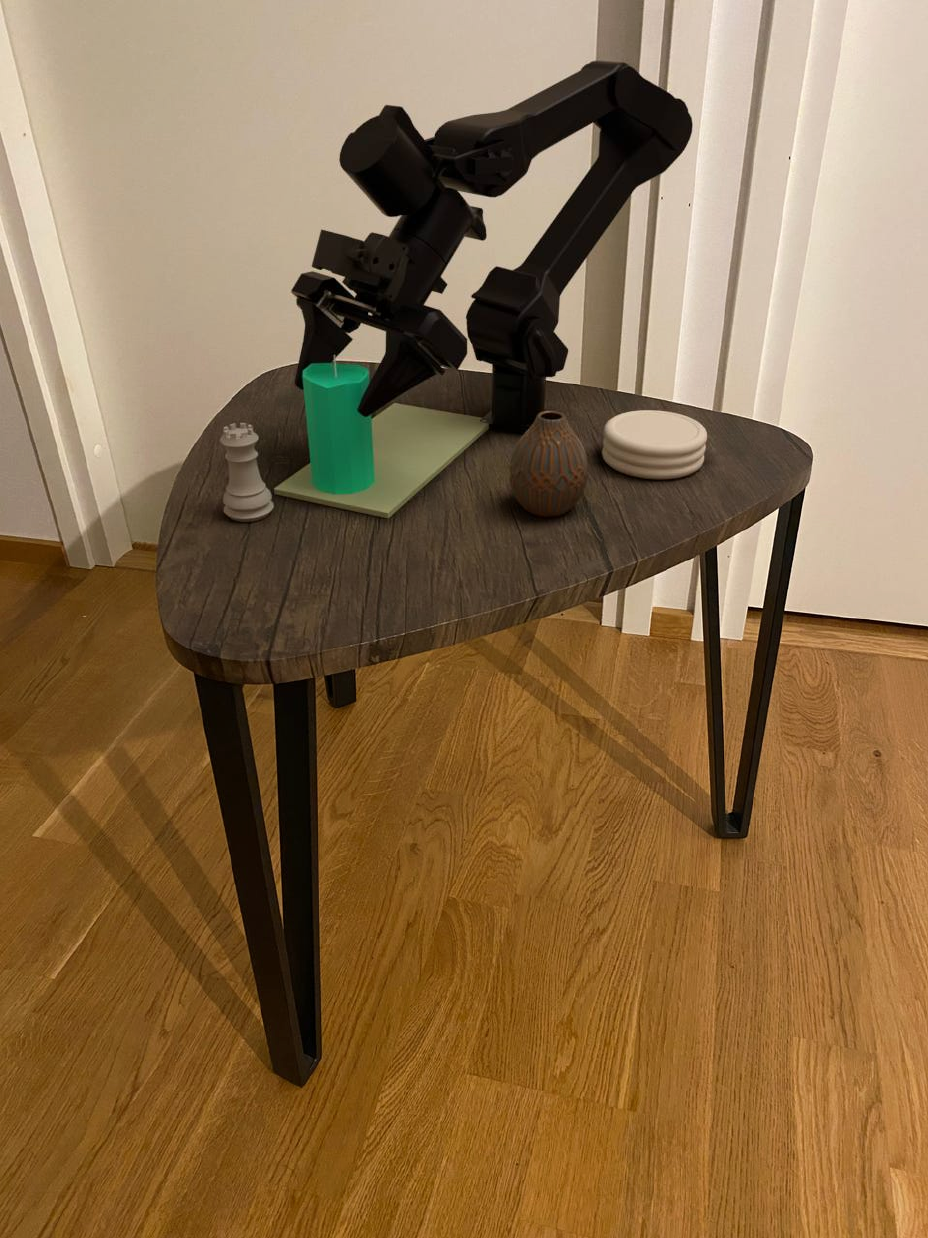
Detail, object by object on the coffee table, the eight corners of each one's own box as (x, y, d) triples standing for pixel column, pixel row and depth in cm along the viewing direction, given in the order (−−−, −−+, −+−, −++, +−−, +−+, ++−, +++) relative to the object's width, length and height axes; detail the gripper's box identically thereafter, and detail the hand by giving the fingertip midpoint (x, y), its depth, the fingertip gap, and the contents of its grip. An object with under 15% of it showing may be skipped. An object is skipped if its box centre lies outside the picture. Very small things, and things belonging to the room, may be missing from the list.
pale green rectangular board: (394, 407, 109) (394, 402, 109) (493, 424, 105) (493, 419, 105) (274, 494, 91) (273, 488, 91) (388, 518, 87) (387, 512, 87)
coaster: (593, 474, 95) (595, 440, 93) (610, 435, 103) (613, 403, 101) (698, 487, 92) (703, 452, 90) (707, 446, 100) (712, 414, 98)
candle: (298, 482, 92) (285, 356, 85) (343, 461, 96) (334, 340, 89) (344, 500, 89) (334, 371, 82) (388, 478, 93) (383, 353, 86)
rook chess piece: (230, 527, 86) (217, 441, 81) (219, 506, 89) (206, 423, 85) (279, 518, 87) (270, 433, 83) (267, 497, 91) (257, 415, 86)
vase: (580, 528, 86) (587, 433, 81) (502, 520, 87) (505, 427, 82) (588, 493, 91) (595, 403, 86) (515, 487, 92) (517, 398, 88)
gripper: (298, 176, 87) (207, 327, 86) (441, 206, 75) (337, 379, 75) (372, 254, 96) (290, 391, 95) (509, 291, 84) (417, 446, 84)
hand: (328, 400), depth 87 cm, fingers open, 9 cm apart
